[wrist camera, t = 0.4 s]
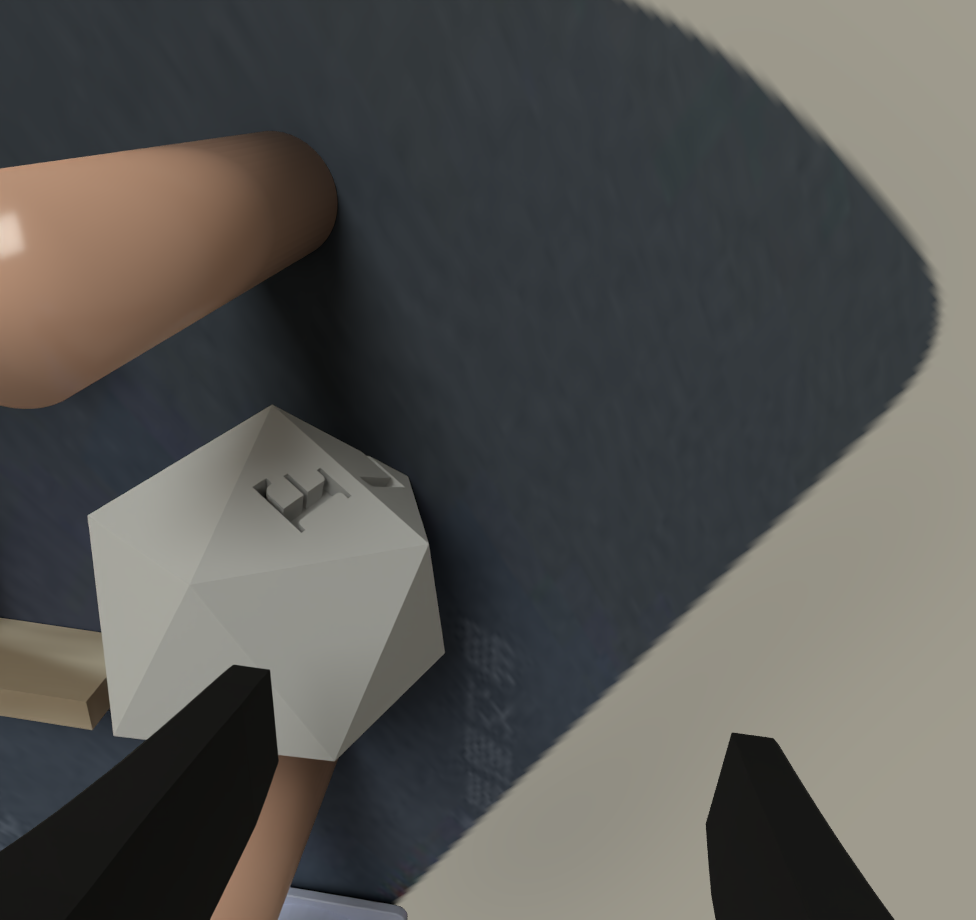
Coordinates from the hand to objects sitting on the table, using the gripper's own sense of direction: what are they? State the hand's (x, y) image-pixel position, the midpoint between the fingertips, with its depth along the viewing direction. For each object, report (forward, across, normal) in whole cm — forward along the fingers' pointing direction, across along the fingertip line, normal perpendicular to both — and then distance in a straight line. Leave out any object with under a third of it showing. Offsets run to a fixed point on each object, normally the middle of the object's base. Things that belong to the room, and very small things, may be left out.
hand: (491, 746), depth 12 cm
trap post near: (+10, +7, -6) cm, 14 cm away
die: (+10, +6, +3) cm, 12 cm away
